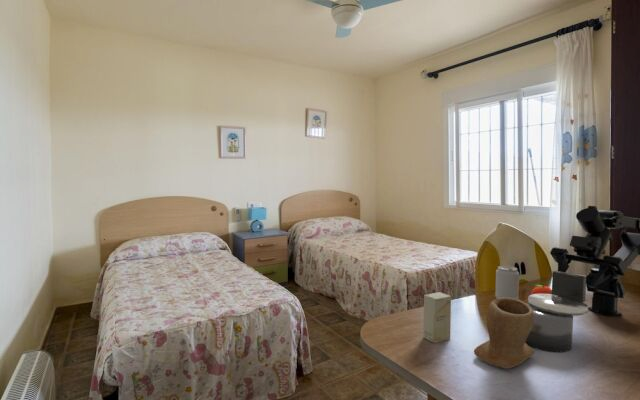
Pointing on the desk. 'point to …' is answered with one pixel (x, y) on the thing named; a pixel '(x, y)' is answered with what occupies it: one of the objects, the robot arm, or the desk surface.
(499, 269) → the can
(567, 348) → the pot
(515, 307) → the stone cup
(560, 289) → the lid
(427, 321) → the skincare box
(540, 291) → the clementine
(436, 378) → the desk surface
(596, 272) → the robot arm
